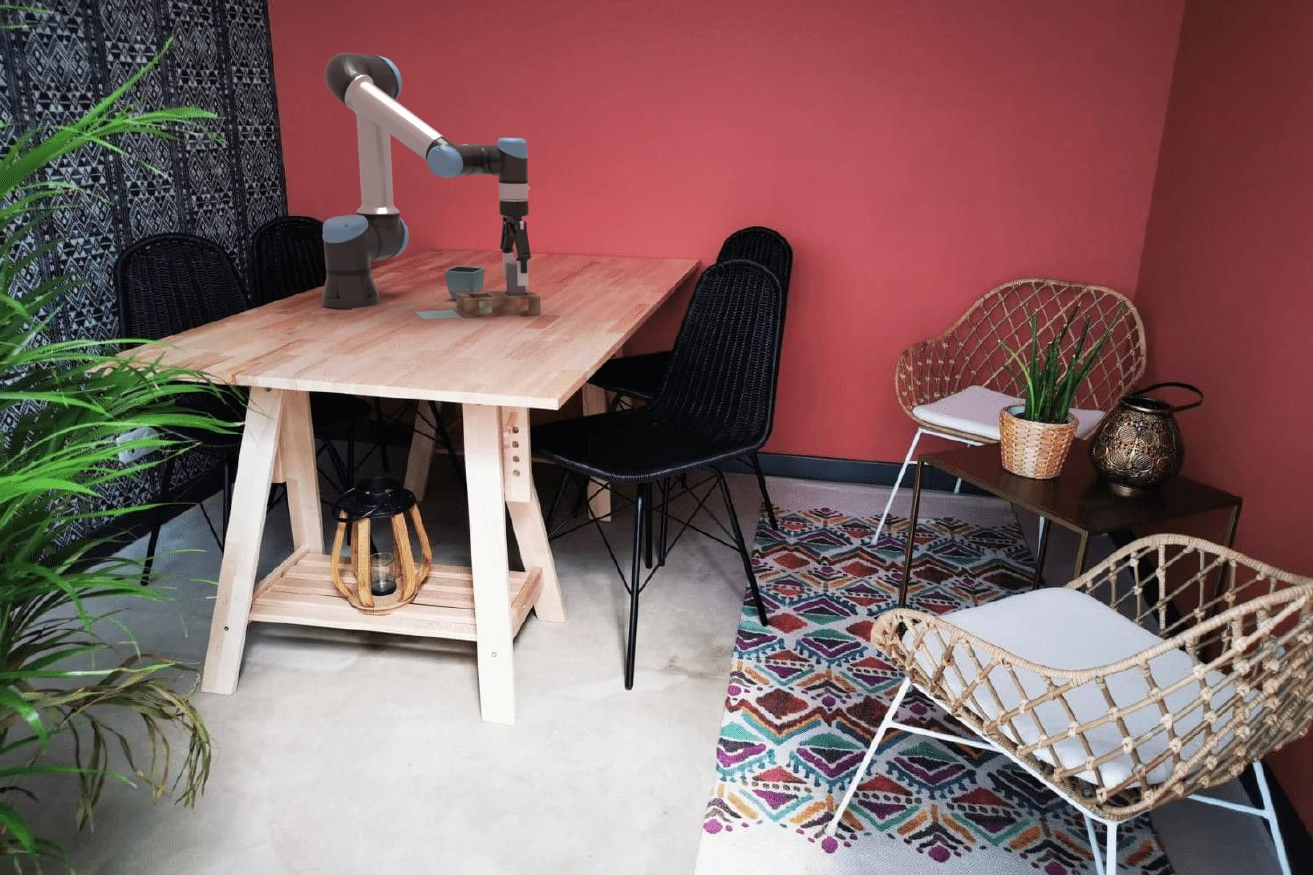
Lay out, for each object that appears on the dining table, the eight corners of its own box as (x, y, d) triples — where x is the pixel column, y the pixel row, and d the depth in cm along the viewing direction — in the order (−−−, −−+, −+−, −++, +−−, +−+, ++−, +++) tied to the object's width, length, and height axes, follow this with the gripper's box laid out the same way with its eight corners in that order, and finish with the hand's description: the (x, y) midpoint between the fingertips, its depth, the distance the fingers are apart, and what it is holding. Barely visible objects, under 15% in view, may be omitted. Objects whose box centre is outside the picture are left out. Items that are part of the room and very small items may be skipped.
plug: (511, 310, 252) (510, 262, 248) (507, 307, 255) (505, 260, 251) (525, 309, 254) (524, 262, 249) (521, 306, 257) (520, 260, 253)
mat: (422, 321, 241) (422, 319, 241) (415, 313, 250) (415, 312, 249) (461, 318, 245) (461, 317, 245) (452, 311, 254) (452, 309, 253)
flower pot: (474, 304, 264) (473, 272, 261) (445, 302, 265) (443, 270, 262) (486, 298, 272) (485, 267, 269) (457, 297, 273) (456, 266, 270)
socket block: (466, 319, 244) (466, 299, 242) (456, 311, 254) (456, 292, 252) (540, 314, 252) (540, 295, 250) (528, 307, 262) (528, 288, 260)
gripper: (542, 204, 236) (543, 288, 243) (514, 195, 257) (515, 273, 264) (513, 204, 233) (515, 289, 240) (487, 196, 254) (489, 274, 261)
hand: (515, 281), depth 252 cm, fingers open, 13 cm apart
